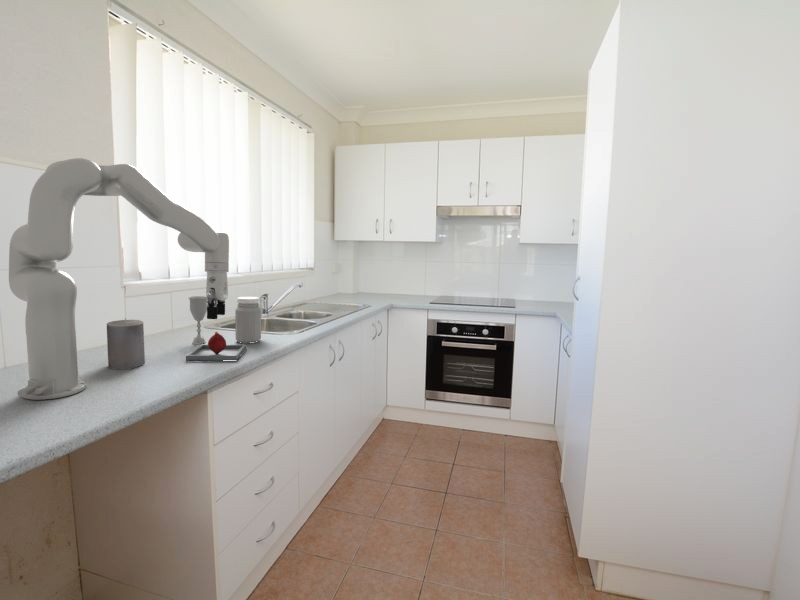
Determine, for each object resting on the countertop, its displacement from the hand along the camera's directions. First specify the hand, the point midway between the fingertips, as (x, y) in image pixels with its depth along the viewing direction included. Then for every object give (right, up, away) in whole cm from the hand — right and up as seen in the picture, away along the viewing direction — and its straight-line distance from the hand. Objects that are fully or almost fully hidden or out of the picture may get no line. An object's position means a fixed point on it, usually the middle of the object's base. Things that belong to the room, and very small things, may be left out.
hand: (216, 316), depth 143 cm
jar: (+2, -11, +25) cm, 27 cm away
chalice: (-15, -11, +19) cm, 27 cm away
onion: (0, -13, +2) cm, 14 cm away
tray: (0, -14, +2) cm, 14 cm away
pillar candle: (-22, -15, -13) cm, 30 cm away
